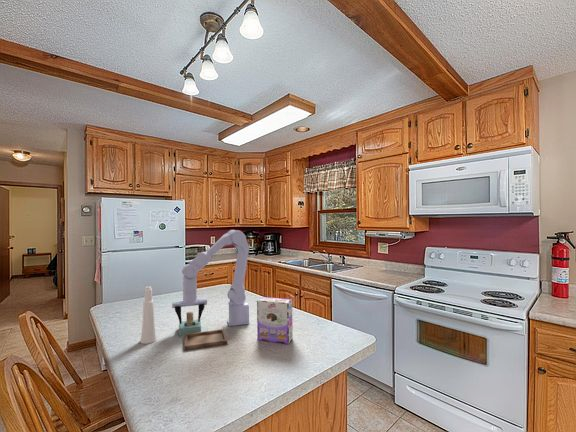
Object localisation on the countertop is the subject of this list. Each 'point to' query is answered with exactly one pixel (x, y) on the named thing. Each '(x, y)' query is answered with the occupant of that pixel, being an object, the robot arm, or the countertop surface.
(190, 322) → the pin
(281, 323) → the candy box
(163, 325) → the countertop surface
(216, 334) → the tray
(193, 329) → the teal square ring
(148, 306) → the cosmetic bottle
